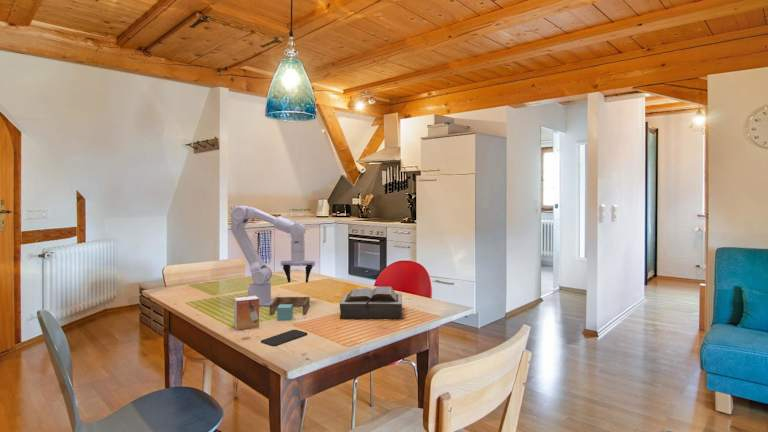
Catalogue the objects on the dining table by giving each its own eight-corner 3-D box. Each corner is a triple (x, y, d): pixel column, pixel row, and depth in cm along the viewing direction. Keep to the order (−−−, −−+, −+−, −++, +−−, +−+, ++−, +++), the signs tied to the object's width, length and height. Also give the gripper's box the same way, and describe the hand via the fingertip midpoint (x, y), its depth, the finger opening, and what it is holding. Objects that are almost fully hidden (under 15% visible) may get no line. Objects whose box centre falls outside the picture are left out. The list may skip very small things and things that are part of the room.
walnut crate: (269, 315, 172) (269, 305, 172) (276, 306, 186) (276, 297, 185) (305, 314, 173) (305, 304, 173) (309, 306, 186) (309, 296, 186)
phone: (259, 340, 141) (294, 329, 153) (259, 343, 141) (294, 331, 153) (274, 345, 136) (308, 333, 149) (274, 348, 137) (309, 335, 149)
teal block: (277, 320, 165) (277, 307, 165) (279, 317, 170) (279, 304, 170) (290, 320, 165) (290, 307, 165) (292, 316, 170) (292, 304, 170)
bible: (399, 324, 162) (399, 298, 161) (330, 319, 168) (330, 294, 167) (409, 308, 184) (409, 285, 184) (348, 304, 190) (348, 282, 190)
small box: (236, 330, 153) (235, 300, 152) (233, 326, 158) (233, 297, 157) (259, 327, 156) (259, 298, 156) (256, 323, 161) (256, 295, 161)
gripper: (279, 252, 184) (279, 284, 185) (313, 252, 185) (313, 284, 185) (282, 250, 191) (282, 280, 192) (315, 250, 192) (315, 280, 192)
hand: (298, 282), depth 189 cm, fingers open, 7 cm apart
